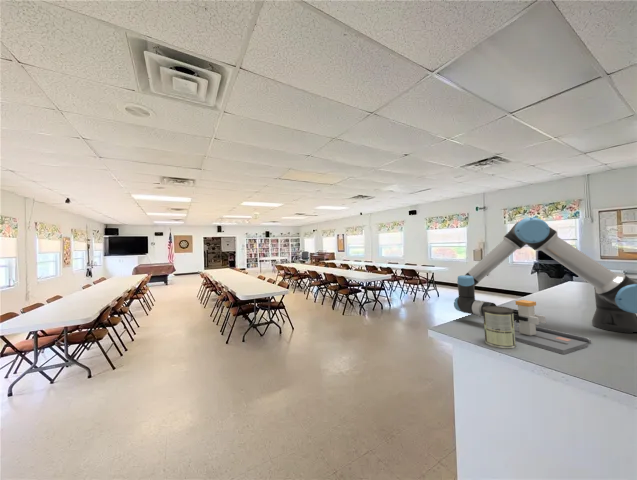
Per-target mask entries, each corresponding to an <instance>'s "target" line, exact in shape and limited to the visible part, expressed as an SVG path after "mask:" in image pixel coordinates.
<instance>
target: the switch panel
mask: <svg viewBox="0 0 637 480" xmlns="http://www.w3.org/2000/svg"><path fill="white" fill-rule="evenodd" d="M514 330H515V342H519V343H522V344H526V345H528V346H533V347H536V348H538V349H539V348H540V349H544V350H546V351H550V352H553V353H556V354H557V353H558V354H561V355H567V354H569V353H572V352H577V351H579V350H583V349H585V347H586V348H588V347H589V343H587V342H582V341H578V340H574V339H570V338H565V337H561V336H557V335H553V334H549V333H544V332H540V331H536V334H535V335H531V336H530V335H526V334H522V333H520V330H519V325H515V324H514ZM582 348H583V349H582Z"/></svg>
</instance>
